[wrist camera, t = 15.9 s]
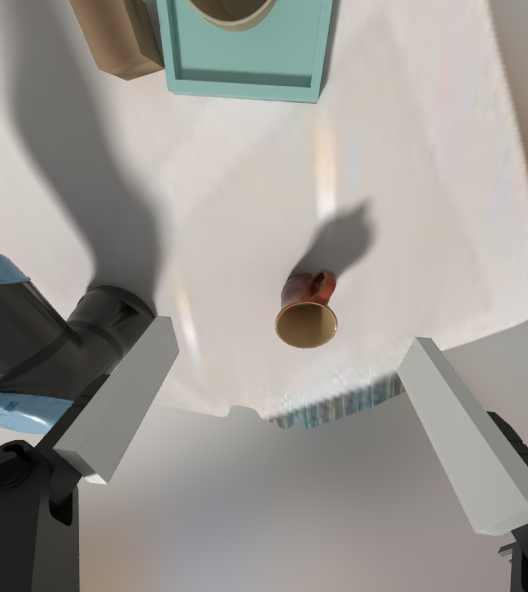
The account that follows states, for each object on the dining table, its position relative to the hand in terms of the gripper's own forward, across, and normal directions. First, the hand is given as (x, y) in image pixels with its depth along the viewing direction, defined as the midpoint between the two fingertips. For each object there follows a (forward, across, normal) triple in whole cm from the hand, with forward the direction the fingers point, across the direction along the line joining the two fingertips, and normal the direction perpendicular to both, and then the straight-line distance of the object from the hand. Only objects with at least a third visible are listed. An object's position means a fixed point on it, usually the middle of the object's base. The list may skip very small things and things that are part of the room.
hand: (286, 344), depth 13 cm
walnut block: (+26, -19, +18) cm, 37 cm away
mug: (+26, +4, -10) cm, 28 cm away
